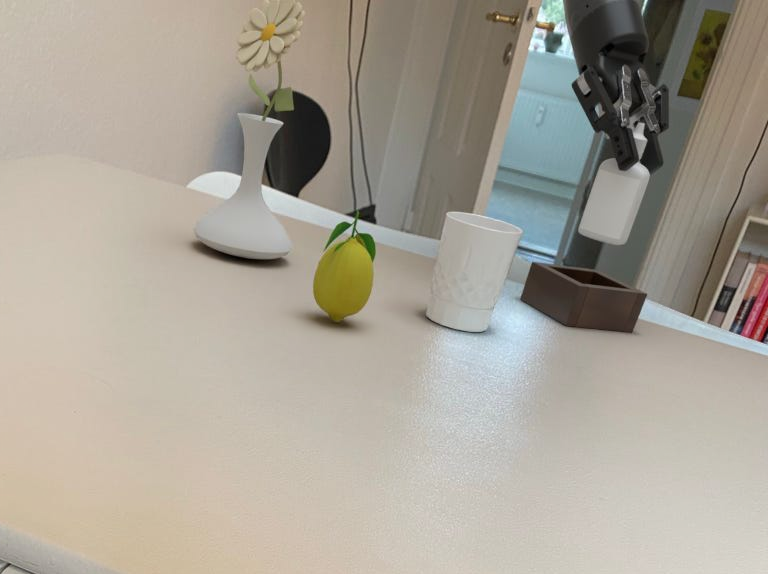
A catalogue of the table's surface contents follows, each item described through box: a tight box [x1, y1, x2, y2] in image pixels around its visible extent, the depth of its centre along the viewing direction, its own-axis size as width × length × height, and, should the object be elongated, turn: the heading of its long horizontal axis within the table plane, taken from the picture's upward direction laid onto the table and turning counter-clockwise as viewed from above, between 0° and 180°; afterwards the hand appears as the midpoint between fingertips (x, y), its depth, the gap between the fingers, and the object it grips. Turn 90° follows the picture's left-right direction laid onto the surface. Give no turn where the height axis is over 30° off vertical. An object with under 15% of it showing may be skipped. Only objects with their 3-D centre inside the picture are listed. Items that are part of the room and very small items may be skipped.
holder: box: [519, 261, 648, 333], centre depth 109 cm, size 10×10×4 cm
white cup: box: [425, 211, 524, 333], centre depth 94 cm, size 8×8×10 cm
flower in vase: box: [192, 0, 306, 260], centre depth 96 cm, size 13×11×25 cm
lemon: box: [312, 210, 377, 323], centre depth 84 cm, size 7×6×10 cm
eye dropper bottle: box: [577, 122, 651, 246], centre depth 102 cm, size 4×6×12 cm
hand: (642, 167), depth 100 cm, fingers closed on eye dropper bottle, 3 cm apart
